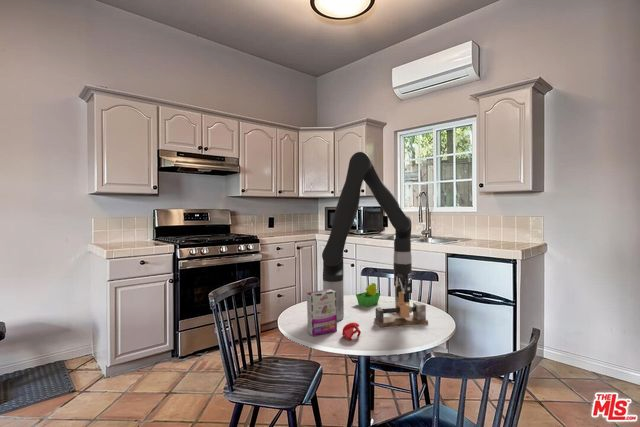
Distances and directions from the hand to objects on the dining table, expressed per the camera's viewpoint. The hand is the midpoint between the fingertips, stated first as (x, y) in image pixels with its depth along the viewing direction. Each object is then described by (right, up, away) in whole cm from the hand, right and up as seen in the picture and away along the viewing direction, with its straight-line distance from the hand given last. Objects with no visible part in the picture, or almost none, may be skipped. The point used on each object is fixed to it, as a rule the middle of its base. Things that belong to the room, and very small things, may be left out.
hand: (402, 299), depth 152 cm
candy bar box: (-35, -11, -10) cm, 38 cm away
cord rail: (-1, -10, 0) cm, 10 cm away
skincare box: (+5, -9, +21) cm, 24 cm away
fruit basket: (-11, -10, +28) cm, 31 cm away
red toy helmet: (-23, -11, -16) cm, 30 cm away
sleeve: (0, -7, 0) cm, 7 cm away
